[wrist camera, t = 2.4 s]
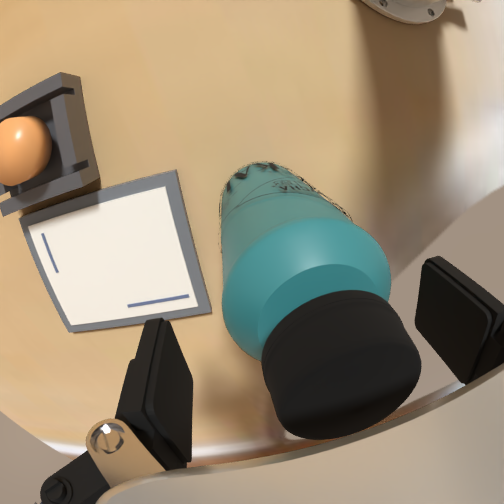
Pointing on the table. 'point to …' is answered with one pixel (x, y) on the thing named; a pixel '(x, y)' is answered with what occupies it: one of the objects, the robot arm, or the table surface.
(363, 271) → the beverage bottle
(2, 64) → the table surface
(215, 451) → the table surface
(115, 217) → the drawing board
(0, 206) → the button housing
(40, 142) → the button
